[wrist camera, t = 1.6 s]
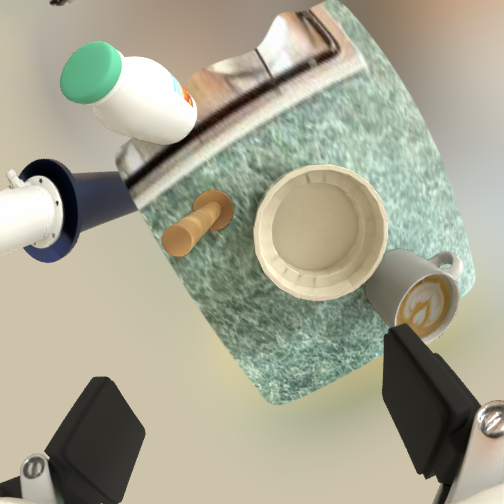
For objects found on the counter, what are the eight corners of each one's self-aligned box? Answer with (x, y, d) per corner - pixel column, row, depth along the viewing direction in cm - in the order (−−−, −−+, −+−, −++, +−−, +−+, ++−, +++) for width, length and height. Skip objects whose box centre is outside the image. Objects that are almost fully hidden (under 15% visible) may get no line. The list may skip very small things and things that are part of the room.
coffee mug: (375, 322, 39) (402, 360, 30) (356, 268, 37) (385, 298, 27) (443, 282, 37) (480, 308, 28) (431, 226, 35) (473, 243, 26)
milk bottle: (205, 133, 33) (145, 90, 13) (149, 154, 33) (49, 143, 14) (190, 81, 31) (127, 3, 11) (136, 102, 31) (40, 57, 12)
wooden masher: (186, 208, 35) (129, 239, 19) (214, 181, 34) (176, 188, 18) (213, 237, 36) (178, 289, 20) (242, 210, 35) (228, 243, 19)
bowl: (229, 221, 36) (223, 230, 30) (319, 141, 33) (332, 135, 27) (305, 302, 38) (313, 324, 33) (388, 231, 36) (409, 242, 30)
